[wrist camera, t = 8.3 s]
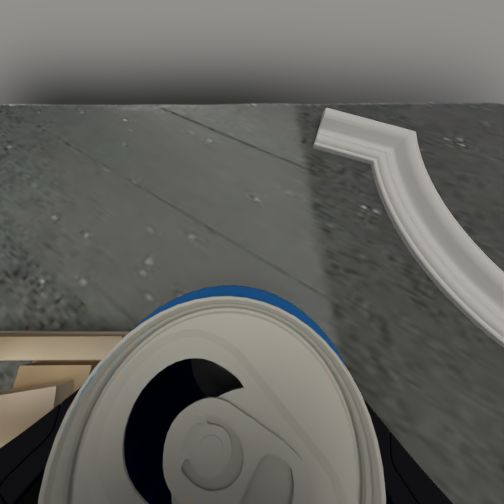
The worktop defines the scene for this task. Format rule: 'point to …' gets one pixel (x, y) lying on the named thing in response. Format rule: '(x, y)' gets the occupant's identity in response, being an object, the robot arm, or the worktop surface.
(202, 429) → the beverage can
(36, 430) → the robot arm
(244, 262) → the worktop surface
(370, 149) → the molding
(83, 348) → the rack
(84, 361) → the offcut stack
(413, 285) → the worktop surface
